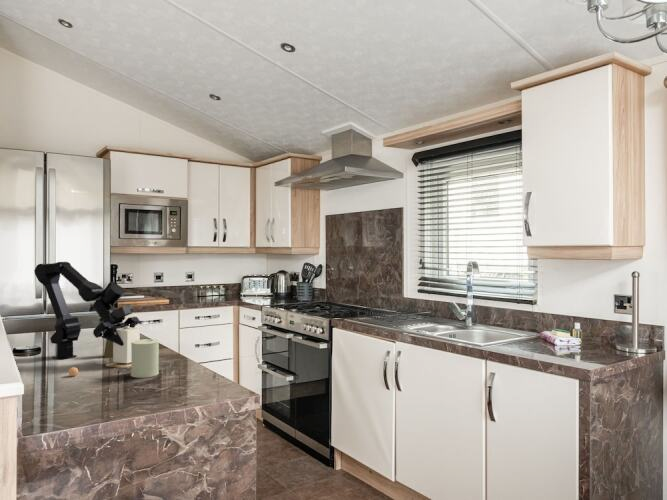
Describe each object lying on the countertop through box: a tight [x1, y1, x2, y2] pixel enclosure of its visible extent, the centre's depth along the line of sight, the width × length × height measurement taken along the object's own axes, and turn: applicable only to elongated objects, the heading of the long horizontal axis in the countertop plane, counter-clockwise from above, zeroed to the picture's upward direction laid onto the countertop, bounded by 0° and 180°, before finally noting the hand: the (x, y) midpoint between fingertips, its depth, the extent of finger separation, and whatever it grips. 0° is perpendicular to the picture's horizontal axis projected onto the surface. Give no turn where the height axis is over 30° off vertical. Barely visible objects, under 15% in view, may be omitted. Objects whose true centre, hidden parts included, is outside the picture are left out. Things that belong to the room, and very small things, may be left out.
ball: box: [68, 366, 79, 377], centre depth 174 cm, size 3×3×3 cm
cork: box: [103, 339, 113, 359], centre depth 206 cm, size 6×6×11 cm
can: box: [130, 338, 160, 379], centre depth 178 cm, size 9×9×12 cm
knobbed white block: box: [112, 326, 141, 363], centre depth 192 cm, size 6×6×13 cm
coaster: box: [105, 361, 131, 369], centre depth 192 cm, size 10×10×1 cm
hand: (129, 343), depth 192 cm, fingers closed on knobbed white block, 6 cm apart
